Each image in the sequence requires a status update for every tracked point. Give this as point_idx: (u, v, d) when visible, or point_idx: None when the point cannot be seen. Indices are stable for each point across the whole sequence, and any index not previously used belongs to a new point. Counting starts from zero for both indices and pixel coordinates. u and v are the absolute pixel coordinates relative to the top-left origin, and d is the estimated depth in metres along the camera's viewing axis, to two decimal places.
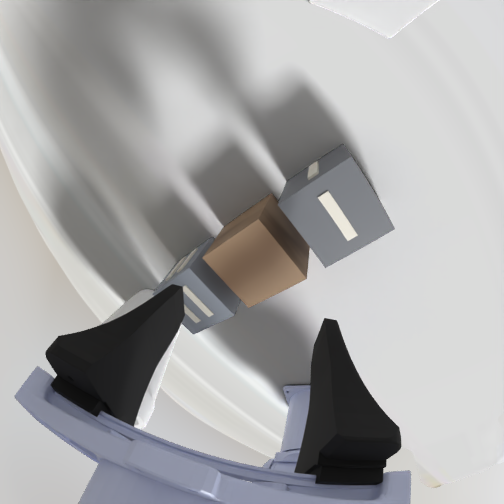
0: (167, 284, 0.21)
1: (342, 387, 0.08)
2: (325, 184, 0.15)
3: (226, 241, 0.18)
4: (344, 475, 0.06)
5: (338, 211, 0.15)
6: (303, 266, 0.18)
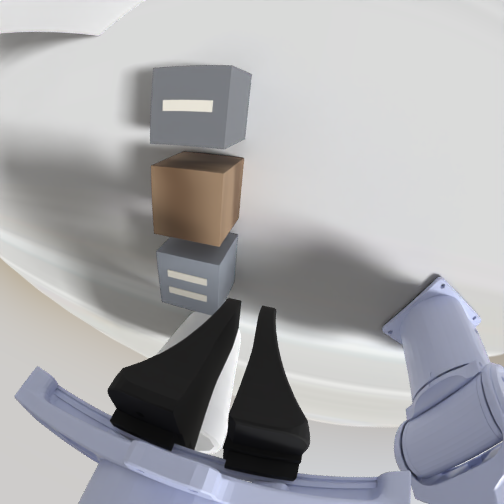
0: (160, 281, 0.22)
1: (257, 372, 0.09)
2: (158, 99, 0.14)
3: (153, 203, 0.18)
4: (252, 464, 0.07)
5: (182, 102, 0.14)
6: (220, 169, 0.17)
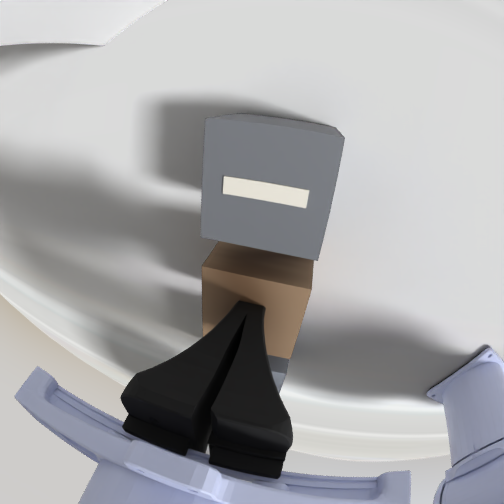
0: None
1: (242, 368, 0.09)
2: (214, 172, 0.10)
3: (203, 309, 0.14)
4: (236, 460, 0.07)
5: (258, 185, 0.10)
6: (302, 276, 0.13)
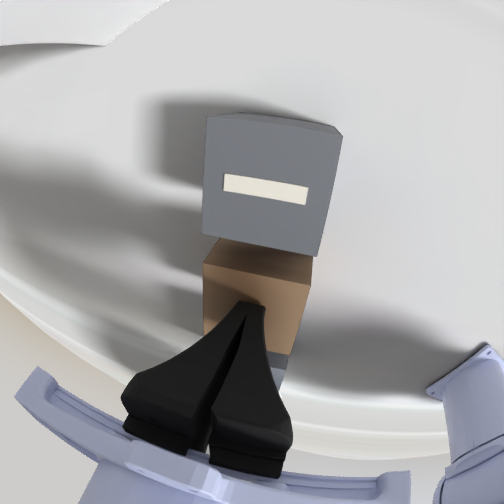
0: None
1: (242, 368, 0.09)
2: (215, 170, 0.11)
3: (204, 305, 0.14)
4: (236, 460, 0.07)
5: (258, 182, 0.10)
6: (302, 272, 0.13)
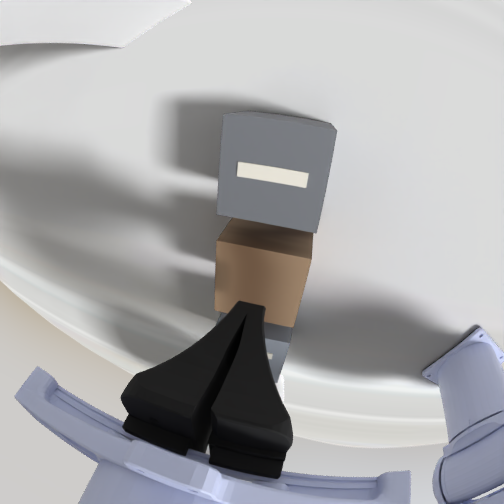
0: None
1: (242, 368, 0.09)
2: (230, 159, 0.12)
3: (216, 281, 0.16)
4: (236, 460, 0.07)
5: (266, 169, 0.12)
6: (303, 249, 0.15)
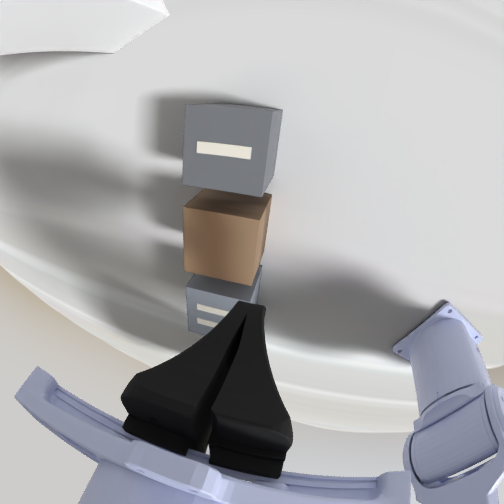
0: (188, 313, 0.22)
1: (242, 368, 0.09)
2: (191, 139, 0.15)
3: (184, 243, 0.19)
4: (236, 460, 0.07)
5: (219, 146, 0.15)
6: (255, 213, 0.18)
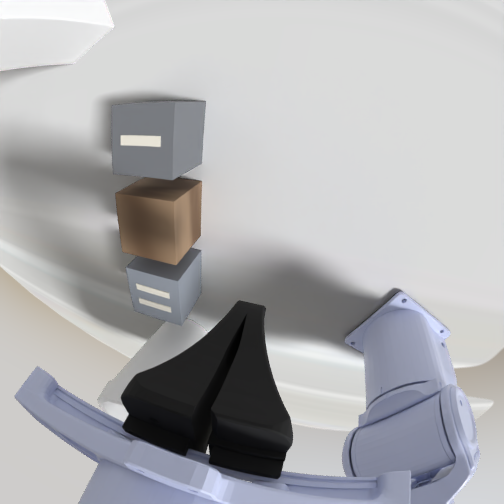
0: (131, 293, 0.23)
1: (242, 368, 0.09)
2: (116, 134, 0.16)
3: (119, 226, 0.20)
4: (236, 460, 0.07)
5: (136, 137, 0.16)
6: (173, 196, 0.18)
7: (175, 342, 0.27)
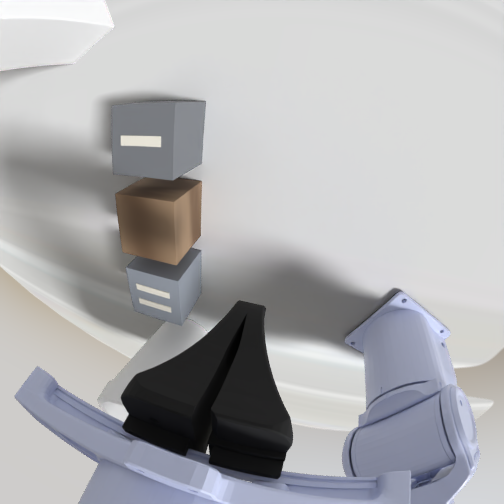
0: (131, 293, 0.23)
1: (242, 368, 0.09)
2: (116, 134, 0.16)
3: (119, 226, 0.20)
4: (236, 460, 0.07)
5: (136, 138, 0.16)
6: (173, 196, 0.18)
7: (175, 342, 0.27)
